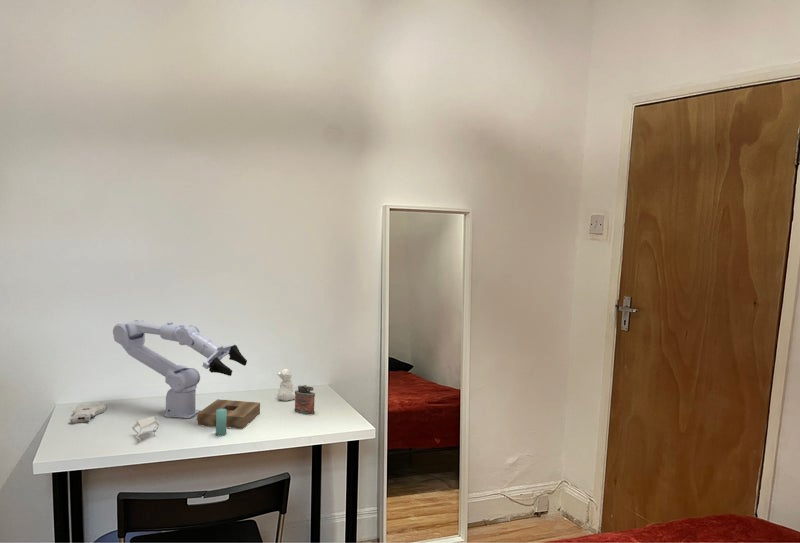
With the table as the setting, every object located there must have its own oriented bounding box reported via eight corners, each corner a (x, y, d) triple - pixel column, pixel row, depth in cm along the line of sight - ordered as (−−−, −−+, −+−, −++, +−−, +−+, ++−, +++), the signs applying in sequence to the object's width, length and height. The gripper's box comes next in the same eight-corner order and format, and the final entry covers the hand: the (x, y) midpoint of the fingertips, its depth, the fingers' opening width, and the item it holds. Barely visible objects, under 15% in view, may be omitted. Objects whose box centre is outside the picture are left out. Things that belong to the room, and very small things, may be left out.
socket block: (197, 425, 201) (197, 413, 201) (217, 410, 217) (217, 399, 216) (243, 428, 199) (243, 417, 199) (259, 413, 215) (260, 402, 215)
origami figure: (133, 431, 193) (132, 416, 193) (160, 430, 196) (160, 415, 195) (126, 445, 182) (126, 429, 181) (156, 443, 184) (156, 428, 184)
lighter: (292, 411, 218) (293, 385, 217) (297, 409, 221) (298, 382, 220) (311, 415, 215) (312, 388, 214) (316, 412, 218) (317, 386, 217)
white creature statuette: (303, 397, 236) (303, 367, 235) (291, 403, 228) (292, 372, 226) (282, 394, 239) (283, 364, 238) (270, 400, 231) (271, 369, 230)
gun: (101, 412, 200) (68, 415, 196) (102, 422, 200) (68, 425, 196) (107, 399, 217) (75, 401, 213) (107, 408, 217) (76, 411, 213)
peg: (214, 435, 192) (214, 411, 192) (218, 432, 196) (218, 408, 195) (223, 436, 192) (224, 412, 191) (227, 432, 195) (228, 409, 194)
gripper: (194, 348, 198) (226, 369, 194) (223, 330, 210) (254, 349, 207) (191, 364, 201) (222, 385, 198) (220, 345, 213) (250, 365, 210)
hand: (238, 368), depth 203 cm, fingers open, 7 cm apart
